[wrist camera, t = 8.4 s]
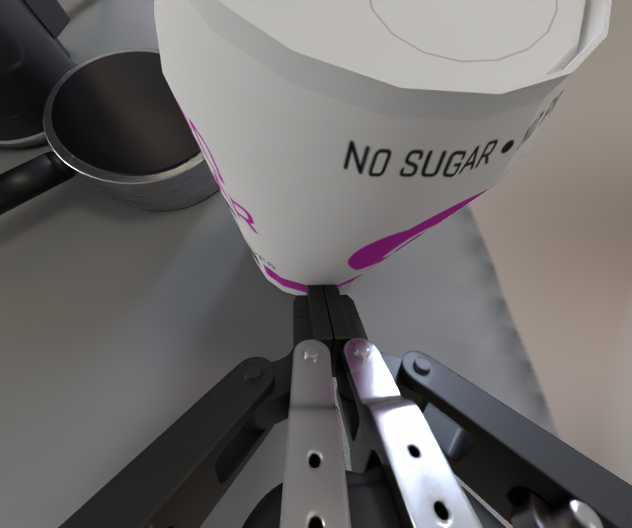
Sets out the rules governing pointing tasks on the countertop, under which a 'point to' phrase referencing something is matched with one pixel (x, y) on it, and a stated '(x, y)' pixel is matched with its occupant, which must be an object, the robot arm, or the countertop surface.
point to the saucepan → (116, 137)
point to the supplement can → (364, 113)
